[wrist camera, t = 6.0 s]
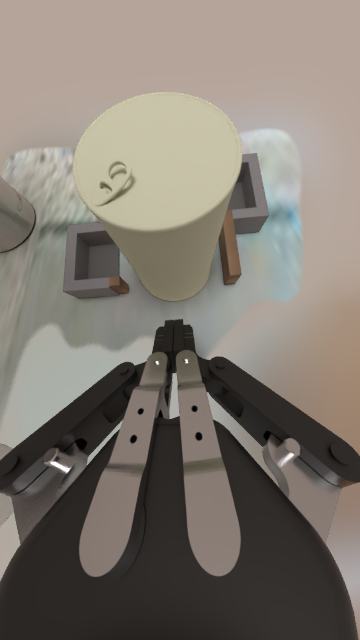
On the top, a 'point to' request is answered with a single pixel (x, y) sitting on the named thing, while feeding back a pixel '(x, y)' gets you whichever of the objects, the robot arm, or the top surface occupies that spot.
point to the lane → (226, 249)
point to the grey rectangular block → (161, 185)
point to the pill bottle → (3, 506)
